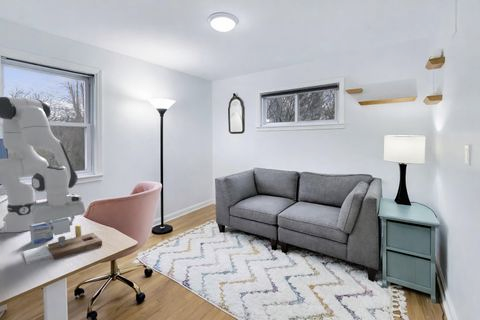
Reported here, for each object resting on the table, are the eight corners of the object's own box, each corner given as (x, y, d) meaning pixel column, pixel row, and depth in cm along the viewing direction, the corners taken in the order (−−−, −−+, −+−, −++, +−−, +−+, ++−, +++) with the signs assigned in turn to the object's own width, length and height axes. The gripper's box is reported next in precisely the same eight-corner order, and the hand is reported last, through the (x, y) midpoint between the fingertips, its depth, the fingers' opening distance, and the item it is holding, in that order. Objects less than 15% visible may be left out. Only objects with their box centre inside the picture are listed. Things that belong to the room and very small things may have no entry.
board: (48, 249, 108) (47, 235, 107) (93, 237, 121) (92, 225, 121) (54, 259, 99) (53, 244, 99) (102, 245, 112) (101, 232, 112)
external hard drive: (46, 248, 110) (52, 257, 102) (22, 255, 104) (26, 265, 96) (46, 245, 110) (52, 254, 102) (22, 251, 104) (26, 261, 96)
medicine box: (33, 244, 113) (31, 226, 112) (30, 241, 116) (29, 224, 115) (53, 238, 120) (52, 221, 119) (50, 236, 122) (49, 219, 121)
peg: (75, 237, 121) (74, 225, 121) (80, 235, 123) (79, 224, 122) (76, 238, 120) (75, 227, 119) (82, 237, 121) (81, 225, 121)
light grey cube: (54, 235, 111) (53, 222, 111) (52, 232, 115) (51, 220, 115) (70, 231, 116) (69, 219, 115) (67, 228, 120) (66, 216, 119)
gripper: (30, 205, 104) (33, 235, 105) (85, 196, 119) (86, 223, 120) (28, 202, 108) (31, 232, 110) (81, 194, 123) (83, 220, 125)
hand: (60, 227), depth 115 cm, fingers closed on light grey cube, 6 cm apart
